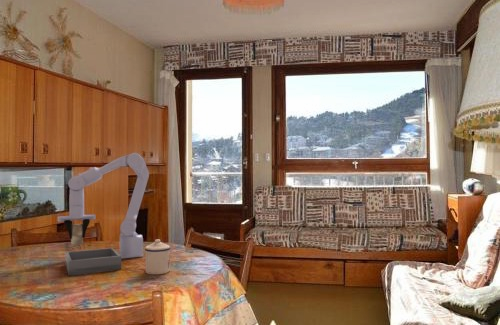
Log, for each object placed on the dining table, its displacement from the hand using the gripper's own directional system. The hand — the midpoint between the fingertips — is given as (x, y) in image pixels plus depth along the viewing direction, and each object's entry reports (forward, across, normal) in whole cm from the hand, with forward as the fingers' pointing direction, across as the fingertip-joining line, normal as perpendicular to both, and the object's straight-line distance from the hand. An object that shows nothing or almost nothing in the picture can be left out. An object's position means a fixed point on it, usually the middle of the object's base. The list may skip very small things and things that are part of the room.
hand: (76, 238), depth 174 cm
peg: (+2, 0, 0) cm, 2 cm away
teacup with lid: (+9, -24, +35) cm, 43 cm away
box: (+9, -4, +18) cm, 20 cm away
